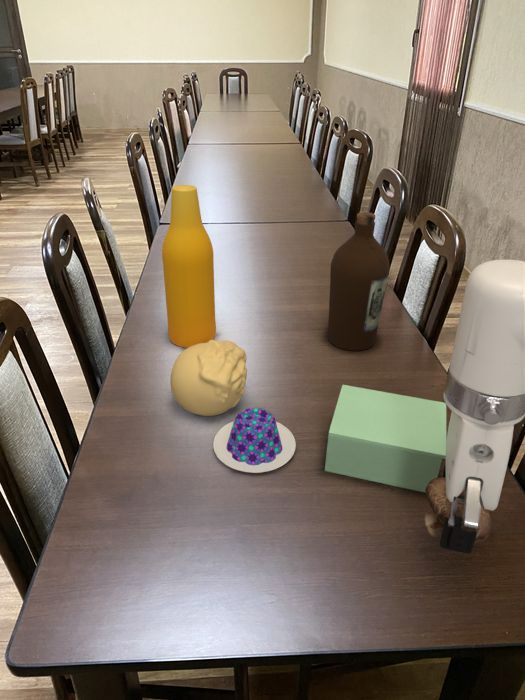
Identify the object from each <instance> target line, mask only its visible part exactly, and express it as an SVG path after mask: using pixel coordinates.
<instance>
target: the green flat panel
mask: <svg viewBox="0 0 525 700" xmlns="http://www.w3.org/2000/svg"><path fill="white" fill-rule="evenodd" d="M329 426H330V427H329V430H328V434H327V435H328V436H332V437H337V438H342V439H347V440H352V441H357V442H362V443H367V444H372V445H377V446H382V447H387V448H392V449H397V450H402V451H407V452H412V453H417V454H422V455H427V456H432V457H437V458H442V460H446V441H447V404H446V403H445V402H442V401H438V400H432V399H426V398H420V397H414V396H409V395H403V394H398V393H393V392H387V391H380V390H377V389H376V390H375V389H370V388H364V387H358V386H352V385H347V384H342V385H341V388H340V392H339V395H338V399H337V403H336V405H335V409H334V413H333V416H332V420H331V423H330V425H329ZM328 436H327V437H328Z"/></svg>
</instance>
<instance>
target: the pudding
mask: <svg viewBox="0 0 525 700" xmlns="http://www.w3.org/2000/svg"><path fill="white" fill-rule="evenodd" d="M212 446H213V450H214V453H215V455H216V457H217V458H218V460H219V461H221V462H222V463H223V464H224V465H225V466H227V467H229V468H231V469H233V470H236V471H240V472H243V473H254V474H255V473H265V472H270V471H273V470H277V469H279V468H280V467H282V466H284V465H285V464H287V463H288V462H289V461H290V460H291V459H292V458H293V456H294V455H295V453H296V450H297V449H296V448H297V443H296V439H295V436H294V434H293V433H292V432H291V430H290V429H288V427H286V426H285V425H283V424H282V423H281V422H278V421H276V418H275V416H274V414H272V412H269V411H267V410H266V409H264V408H261V407H260V408H259V407H257V408H254V407H249V408H246V409H244V410H241V411H240V412H238V413H237V414H236V415H235V418H234V420H233V421H232V420H231V421H230V422H229V423H226V424H225V425H224V426H222V427H220V429H219V430H218V431H217V432H216V434H215V436H214V438H213V443H212Z"/></svg>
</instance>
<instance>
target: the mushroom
mask: <svg viewBox="0 0 525 700" xmlns="http://www.w3.org/2000/svg"><path fill="white" fill-rule="evenodd" d="M425 492H426V493H425V496H426V499H427V501H428V504H429V506H430V508H431V509H430V511H428V512H427V513H426V514H425V515H424V525H425V528H426V530H427V532H428V533H429V535H430V536H432V537H433V538H440V537H441V534H442V530H443V526H444V522H445V518H449V512H450V505H451V502H450V501H449V500H448V498H447V497H446V478H445V477H442V476H440V477H437V478H434V479H432V480H431V481H430V482H429V483H428V485H427V486H426V489H425ZM459 496H464V497H465V490H463V492H462V493H461V494H460V495H459ZM463 510H464V505H463V504H458V505H457V512H456V516H459V517H462V515H463ZM478 527H479V529H478V532H477V535H476V539H475V542H474V544H476V543H480V542H483V541H485V540H487V539H488V538H489V536H490V535H491V532H492V519H491V515H490V511H489V510H486V509H484V506H483V502H482V506H481V512H480V519H479V526H478Z"/></svg>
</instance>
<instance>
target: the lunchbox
mask: <svg viewBox="0 0 525 700" xmlns="http://www.w3.org/2000/svg"><path fill="white" fill-rule="evenodd" d="M325 453H326V454H325V462H324V472H327V473H333V474H337V475H341V476H347V477H351V478H356V479H360V480H365V481H369V482H375V483H379V484H384V485H386V486H387V485H388V486H393V487H397V488H402V489H407V490H409V491H410V490H411V491H416V492H420V493H424V494H426V492H425V489H426V486H427V485H428V483H429V482H430V481H431V480H432V479H434V478H438V476H439V472H440V469H441V466H442V462H443V459H442V458H437V457H432V456H427V455H422V454H417V453H412V452H407V451H402V450H397V449H392V448H387V447H382V446H377V445H372V444H367V443H362V442H357V441H352V440H347V439H342V438H337V437H332V436H327V445H326V452H325Z"/></svg>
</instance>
